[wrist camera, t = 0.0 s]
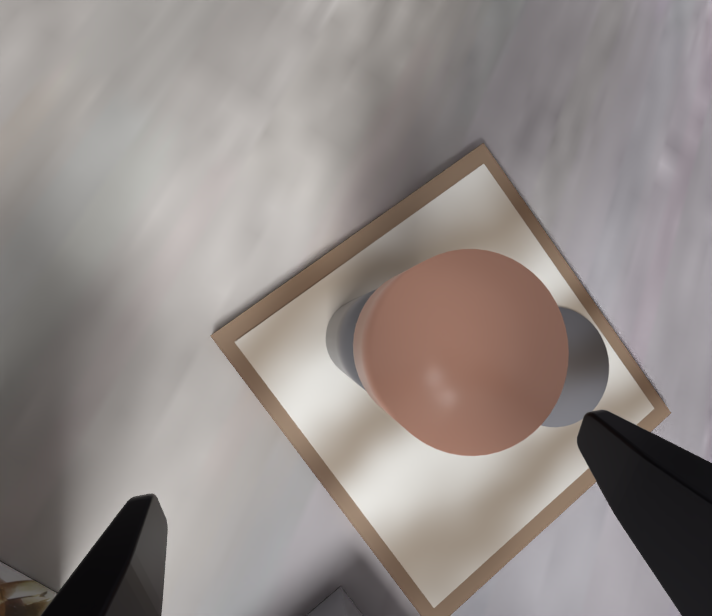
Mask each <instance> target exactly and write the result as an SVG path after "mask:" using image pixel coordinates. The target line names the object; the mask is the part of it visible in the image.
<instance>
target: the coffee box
mask: <svg viewBox="0 0 712 616" xmlns="http://www.w3.org/2000/svg"><path fill="white" fill-rule="evenodd" d="M56 594H57V593H56V592H54V591H52V590H50V589H49V588H47V587H45V586H43V585H42V584H40V583H38V582H36V581H34V580H32V579H31V578H29V577H27V576H25V575H23V574H22V573H20V572H18V571H16V570H14V569H13V568H11V567H9V566H7V565H5V564H3V563H2V562H0V616H40V615H41V614H42V613H43V611H44V610H45V609H46V608H47V606H48V605H49V604H50V602H51V601H52V600H53V598H54V597H55V596H56Z"/></svg>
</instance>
